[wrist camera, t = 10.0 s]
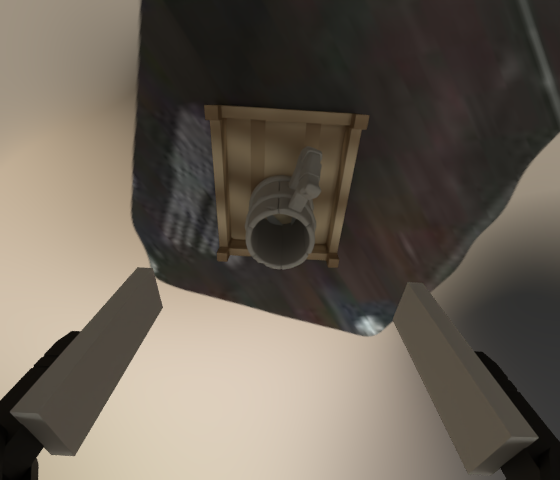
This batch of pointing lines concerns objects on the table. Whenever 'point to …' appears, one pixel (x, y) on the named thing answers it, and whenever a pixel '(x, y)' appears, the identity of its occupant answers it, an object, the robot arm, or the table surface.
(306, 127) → the wooden tray
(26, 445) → the robot arm
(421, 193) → the table surface
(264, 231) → the mug
